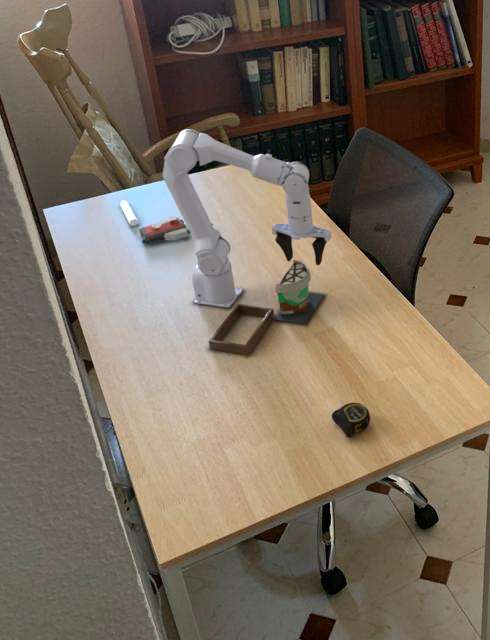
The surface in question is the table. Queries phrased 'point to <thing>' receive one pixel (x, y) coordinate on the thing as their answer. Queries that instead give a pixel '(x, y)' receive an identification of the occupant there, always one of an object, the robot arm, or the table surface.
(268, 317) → the walnut tray
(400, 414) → the table surface
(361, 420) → the tape measure
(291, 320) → the rubber mat
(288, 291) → the food container
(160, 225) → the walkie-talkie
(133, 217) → the marker
